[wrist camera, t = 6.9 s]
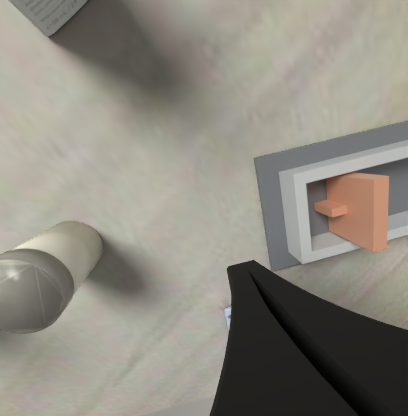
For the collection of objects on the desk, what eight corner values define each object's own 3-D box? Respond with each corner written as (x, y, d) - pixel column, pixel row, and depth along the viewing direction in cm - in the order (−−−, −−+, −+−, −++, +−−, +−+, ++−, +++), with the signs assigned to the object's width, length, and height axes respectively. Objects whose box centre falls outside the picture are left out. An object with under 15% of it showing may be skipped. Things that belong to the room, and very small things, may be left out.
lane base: (452, 218, 23) (489, 227, 21) (271, 269, 22) (284, 285, 19) (465, 106, 20) (512, 98, 17) (253, 157, 19) (267, 158, 16)
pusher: (339, 227, 21) (387, 248, 16) (316, 233, 21) (357, 257, 16) (337, 170, 20) (389, 175, 15) (311, 177, 19) (356, 184, 15)
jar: (112, 263, 20) (78, 320, 13) (57, 278, 19) (-7, 343, 13) (92, 213, 18) (42, 247, 11) (32, 228, 18) (-55, 272, 11)
